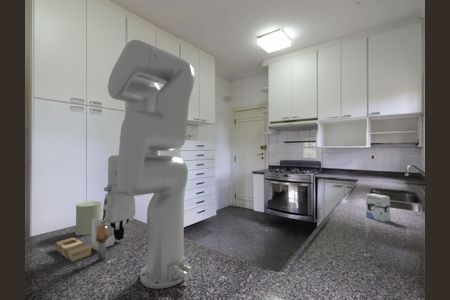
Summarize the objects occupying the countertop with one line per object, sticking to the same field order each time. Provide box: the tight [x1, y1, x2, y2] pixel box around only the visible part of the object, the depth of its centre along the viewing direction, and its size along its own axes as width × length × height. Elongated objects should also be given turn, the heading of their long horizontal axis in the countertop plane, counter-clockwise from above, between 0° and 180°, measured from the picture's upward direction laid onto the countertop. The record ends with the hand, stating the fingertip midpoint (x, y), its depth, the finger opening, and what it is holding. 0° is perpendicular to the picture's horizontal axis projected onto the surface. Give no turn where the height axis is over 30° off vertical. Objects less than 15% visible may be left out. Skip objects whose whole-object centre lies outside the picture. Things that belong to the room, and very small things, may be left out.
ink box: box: [365, 193, 391, 223], centre depth 99 cm, size 8×5×12 cm, turn 17°
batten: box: [55, 236, 92, 263], centre depth 65 cm, size 14×5×2 cm, turn 56°
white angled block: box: [91, 218, 115, 252], centre depth 69 cm, size 4×10×9 cm
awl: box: [96, 225, 108, 262], centre depth 60 cm, size 3×3×10 cm
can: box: [74, 200, 103, 236], centre depth 83 cm, size 9×9×12 cm
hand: (118, 238), depth 73 cm, fingers closed
